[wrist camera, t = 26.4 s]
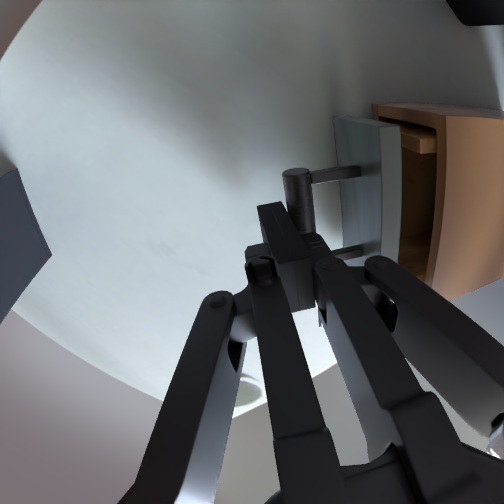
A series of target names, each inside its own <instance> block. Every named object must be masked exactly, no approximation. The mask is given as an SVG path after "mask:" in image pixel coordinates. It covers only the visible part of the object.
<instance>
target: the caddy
mask: <svg viewBox="0 0 504 504" xmlns="http://www.w3.org/2000/svg"><path fill="white" fill-rule="evenodd" d="M51 256H52V254H51V252H50V250H49V248H48V245H47V243H46V241H45V239H44V237H43V234H42V232H41V230H40V228H39V225H38V223H37V220H36V218H35V216H34V213H33V211H32V208H31V206H30V203H29V200H28V198H27V195H26V192H25V189H24V186H23V184H22V181H21V178H20V175H19V171H18V169H15V170H13V171H11V172H9V173H7V174H5V175H3V176H1V177H0V324H1V323H2V321H3V319H4V318H5V316H6V315H7V314H8V312H9V310H10V309H11V308H12V306H13V305H14V303H15V302H16V301H17V299H18V298H19V297H20V295H21V294H22V292H23V291H24V290H25V288H26V287H27V286H28V284H29V283H30V282H31V281H32V279H33V278H34V277H35V275H36V274H37V273H38V272H39V270H40V269H41V268H42V267H43V265H44V264H45V263H46V262H47V261H48V259H49V258H50V257H51Z"/></svg>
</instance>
